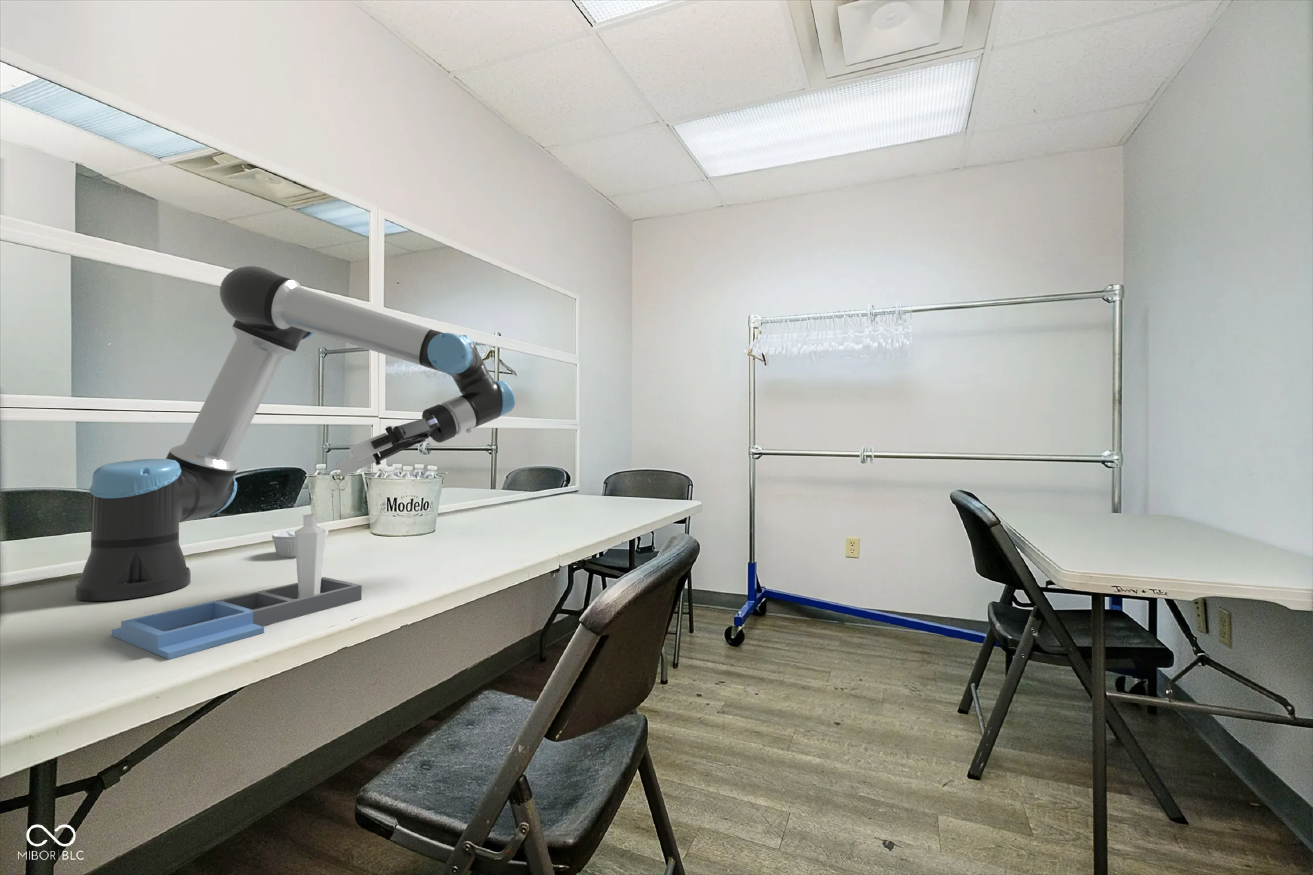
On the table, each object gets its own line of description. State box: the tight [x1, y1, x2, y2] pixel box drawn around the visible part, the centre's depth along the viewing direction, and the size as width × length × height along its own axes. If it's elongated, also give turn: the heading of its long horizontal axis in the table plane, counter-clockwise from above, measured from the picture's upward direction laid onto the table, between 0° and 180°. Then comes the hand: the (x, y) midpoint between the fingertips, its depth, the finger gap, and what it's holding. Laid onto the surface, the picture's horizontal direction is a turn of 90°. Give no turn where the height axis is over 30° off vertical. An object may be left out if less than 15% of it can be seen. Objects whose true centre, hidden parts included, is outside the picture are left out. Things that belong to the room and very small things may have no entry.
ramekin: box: [271, 529, 329, 559], centre depth 131 cm, size 11×11×5 cm
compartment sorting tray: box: [111, 576, 363, 660], centre depth 86 cm, size 28×17×2 cm, turn 152°
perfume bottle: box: [295, 513, 327, 599], centre depth 93 cm, size 5×4×15 cm
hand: (346, 462), depth 102 cm, fingers open, 13 cm apart
